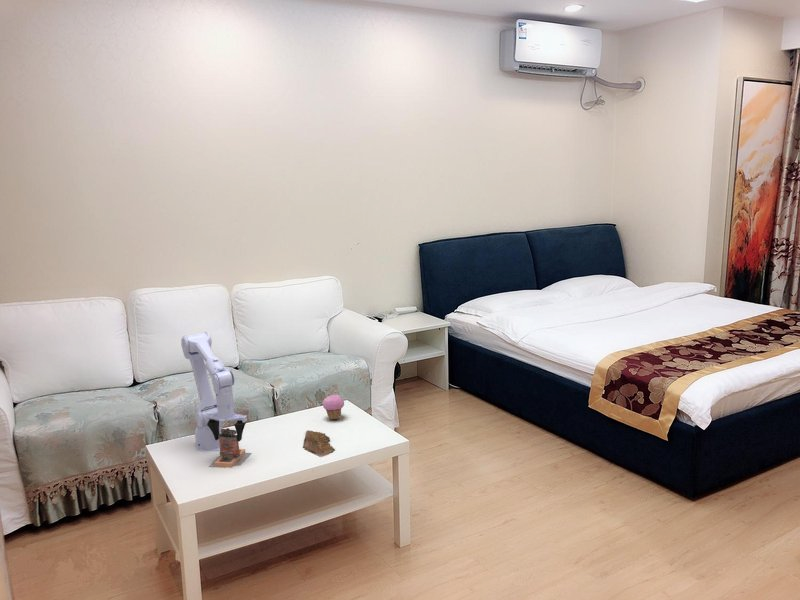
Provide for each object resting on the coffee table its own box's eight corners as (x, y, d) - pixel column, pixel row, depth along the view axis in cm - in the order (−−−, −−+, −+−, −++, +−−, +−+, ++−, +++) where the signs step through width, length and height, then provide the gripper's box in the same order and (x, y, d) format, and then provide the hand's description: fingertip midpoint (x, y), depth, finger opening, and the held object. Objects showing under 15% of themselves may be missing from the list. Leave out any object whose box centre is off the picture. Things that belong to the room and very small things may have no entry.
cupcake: (345, 413, 261) (344, 391, 259) (344, 421, 252) (342, 399, 250) (324, 414, 261) (323, 392, 259) (322, 422, 252) (321, 399, 250)
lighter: (217, 455, 220) (215, 429, 218) (223, 451, 223) (221, 425, 221) (236, 458, 217) (234, 432, 215) (242, 454, 220) (239, 428, 218)
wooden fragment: (337, 454, 222) (336, 452, 221) (307, 462, 219) (307, 459, 218) (324, 427, 246) (323, 425, 245) (297, 434, 243) (296, 431, 242)
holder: (208, 468, 216) (208, 462, 215) (223, 452, 227) (223, 447, 227) (237, 469, 214) (237, 464, 213) (251, 454, 225) (251, 449, 225)
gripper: (200, 407, 213) (204, 443, 216) (239, 409, 211) (242, 445, 214) (210, 400, 220) (213, 435, 223) (248, 401, 218) (251, 437, 221)
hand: (228, 439), depth 219 cm, fingers closed on lighter, 7 cm apart
